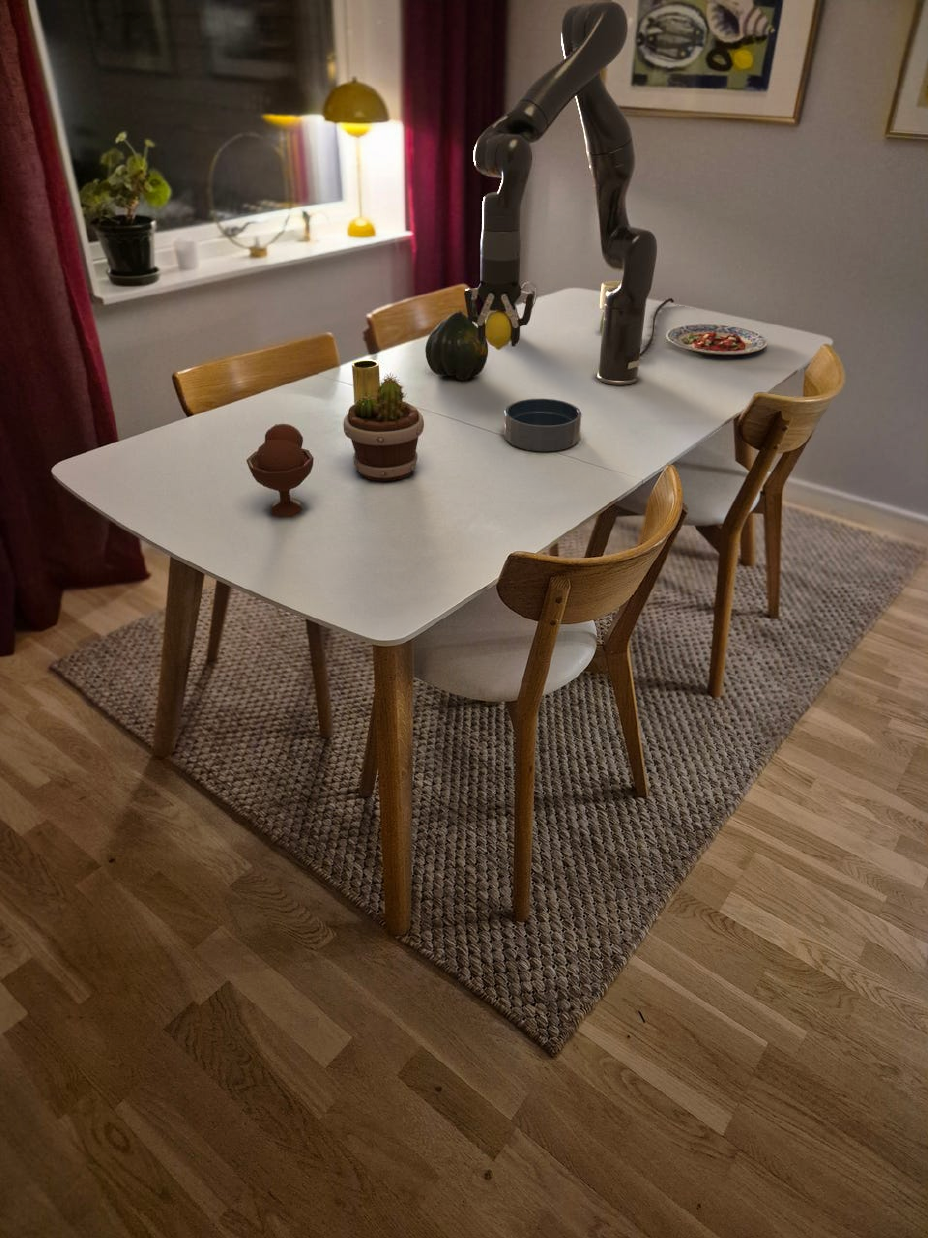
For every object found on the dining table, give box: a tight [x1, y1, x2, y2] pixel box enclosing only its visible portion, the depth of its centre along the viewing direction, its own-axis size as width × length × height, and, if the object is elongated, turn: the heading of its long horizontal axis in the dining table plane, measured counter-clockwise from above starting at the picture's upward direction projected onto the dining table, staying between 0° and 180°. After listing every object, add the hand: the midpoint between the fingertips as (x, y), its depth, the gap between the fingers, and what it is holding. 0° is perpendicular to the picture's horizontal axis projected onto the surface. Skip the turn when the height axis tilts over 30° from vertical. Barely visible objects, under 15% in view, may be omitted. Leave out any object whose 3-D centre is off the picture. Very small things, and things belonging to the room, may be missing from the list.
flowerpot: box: [342, 372, 425, 482], centre depth 153 cm, size 14×15×20 cm
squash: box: [424, 310, 489, 381], centre depth 200 cm, size 14×15×15 cm
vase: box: [351, 359, 381, 405], centre depth 169 cm, size 6×6×14 cm
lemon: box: [485, 310, 513, 351], centre depth 166 cm, size 6×6×8 cm
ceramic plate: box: [666, 323, 769, 357], centre depth 221 cm, size 26×26×3 cm
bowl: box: [503, 398, 582, 453], centre depth 170 cm, size 15×15×6 cm
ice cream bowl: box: [245, 423, 315, 518], centre depth 141 cm, size 11×11×15 cm
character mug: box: [598, 280, 621, 333], centre depth 227 cm, size 11×7×13 cm, turn 146°
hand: (498, 344), depth 168 cm, fingers closed on lemon, 5 cm apart
